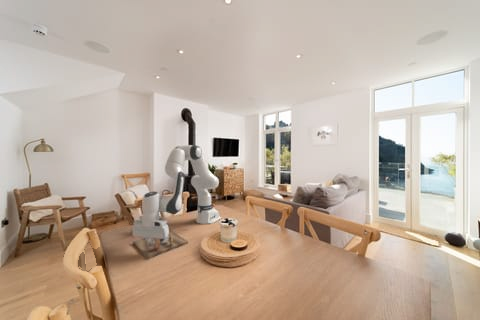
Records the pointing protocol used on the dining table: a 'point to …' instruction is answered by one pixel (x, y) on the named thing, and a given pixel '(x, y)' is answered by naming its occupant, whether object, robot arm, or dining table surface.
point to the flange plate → (160, 242)
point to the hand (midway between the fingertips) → (150, 244)
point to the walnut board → (150, 252)
